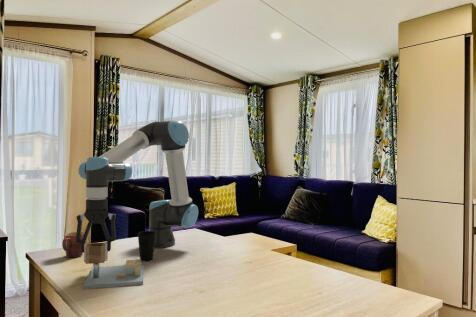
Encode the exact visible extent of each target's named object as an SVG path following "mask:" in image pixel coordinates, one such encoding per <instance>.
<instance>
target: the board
mask: <svg viewBox="0 0 476 317" xmlns="http://www.w3.org/2000/svg"><path fill="white" fill-rule="evenodd" d="M125 265H126V264H124V265H121V264H120V265H109V266H108V265H107V266H99V278H93V267H92V268H91V271H90V272H89V274H88V276H87V277H86V280H85V282H84V284H83V290H86V289H99V288H100V289H101V288H113V287H114V288H115V287H125V286H128V287H129V286H140V285H142V286H143V285H144V276H145V275H144V273H145V272H144V271H145V264H144V263H141V276H139V277H135V267H134V268H125ZM117 274H125V278H121V279H117Z"/></svg>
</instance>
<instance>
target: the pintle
mask: <svg viewBox="0 0 476 317" xmlns="http://www.w3.org/2000/svg"><path fill="white" fill-rule="evenodd" d="M99 267H100V263H93V264H92V268H93V278H99Z"/></svg>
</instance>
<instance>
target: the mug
mask: <svg viewBox="0 0 476 317" xmlns="http://www.w3.org/2000/svg"><path fill="white" fill-rule="evenodd" d="M76 233H77V231H72V232H66V233H64V235H63V236H64V238H63V239H62V242H61V247H62V249H63V251H64V252H65V256H66V257H67V258H69V259H70V258H71V259H73V258H75V259H76V258H79V257H81V256H83V255H84V253H82V252H81V243H77V242H76ZM84 233H85V231H83V232H82V231H81V239H82V238H83V236H84Z"/></svg>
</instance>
